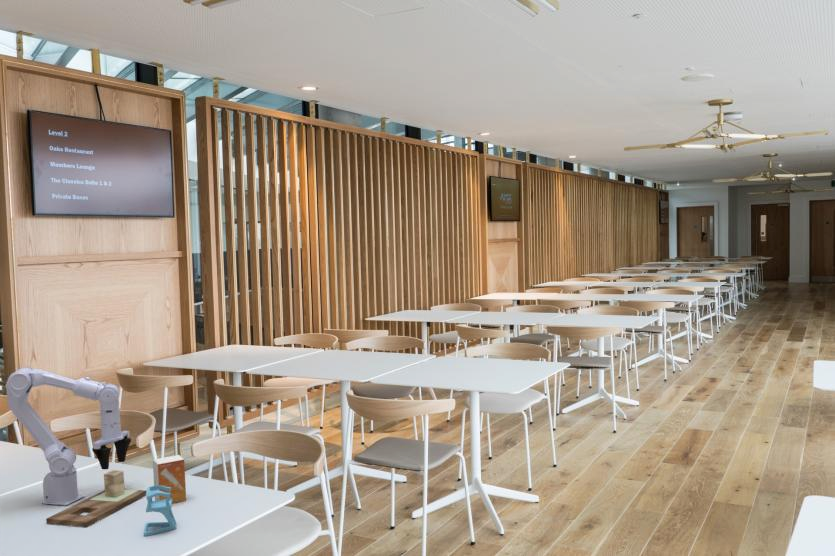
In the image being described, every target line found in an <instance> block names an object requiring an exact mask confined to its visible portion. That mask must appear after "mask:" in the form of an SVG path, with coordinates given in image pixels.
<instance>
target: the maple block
mask: <svg viewBox="0 0 835 556" xmlns="http://www.w3.org/2000/svg"><path fill="white" fill-rule="evenodd" d="M124 474H125V473H124V470H116V469H115V470H110V471H108V472H105V473H104V474H103V482H104V483H103V484H104V485H103V486H104V490H105V497H115V498H116V497H118V496H120V495H122V494H124V493H125V489H126V488H125V475H124Z"/></svg>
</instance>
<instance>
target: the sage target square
mask: <svg viewBox="0 0 835 556" xmlns="http://www.w3.org/2000/svg"><path fill="white" fill-rule="evenodd" d="M126 489H127V488H125V493H124V494H122V495H120V496H118V497H116V498H115V497H105V492H104V493H102V494H100V495H98V496H96V497H94V498H92V499H90V501H103V502H116V503H117V502H119V501H121V500H123V499H125V498H127V497H129V496H131V495H133V494H135V493H137V492H138V491H139V490H140V489H130V490H126Z"/></svg>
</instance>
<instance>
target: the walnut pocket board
mask: <svg viewBox="0 0 835 556" xmlns="http://www.w3.org/2000/svg"><path fill="white" fill-rule="evenodd" d="M125 489H126V490H131V489H129V488H125ZM138 490H139V491H138V492H137V493H135V494H133V495H131V496H129V497H127V498H125V499H123V500H121V501H119V502H117V503H116V502H103V501H90V499H92V498H94V497H96V496H98V495H100V494H102V493H104V492H105V489H104V490H102V491H100V492H99V493H96V494H94V495H92V496H89V497H88V498H86V499H84V500H81V501H80V502H77V503H76V504H73V505H72V506H69V507H68V508H65V509H63V510H61V511H59V512H57V513H55V514H53V515H51V516H48V517H47V518H46V519H45V520H46V521H45V522H46V525H47V524H48V525H55V524H56V525H58V526H66V525H70V527H78V526H83V527H82V528H89V527H90V526H92V525H94V524H96V523H98V522H100V521H102V520H103V519H105V518H107V517H109V516H111V515H113V514H114V513H116V512H118V511H120V510H122V509H124V508H125V507H127V506H130V505H131V504H133V503H135V502H137V501H138V500H141V499H142V498H144V497H146V490H143V489H138ZM140 498H141V499H140ZM83 513H87V514H83ZM99 520H100V521H99ZM97 521H98V522H97ZM95 522H96V523H95ZM56 525H55V526H56ZM71 525H72V526H71ZM89 525H90V526H89Z"/></svg>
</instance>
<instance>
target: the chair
mask: <svg viewBox="0 0 835 556" xmlns="http://www.w3.org/2000/svg"><path fill="white" fill-rule="evenodd" d="M157 489H164V490H166V491H168V492H167V493H165V492H163V491H159V490H157ZM170 490H171V487H165V486H162V485H155V486H154V485H151V486H149V487H147V488H146V490H145V491H146V496H145V497H146V501H147V503H146V507H145V512H146V513H152V512H154V513H161V514H162V515H163V516H164V517H165V519H166V521H158V522H157V521H156V522H154V521H151V522H145V524H144V530H143V537H148V536H152V535H155V534H160V533H163V532H167V531H171V530H175V529H177V521H176V519H175V516H174V513H173V511H172V505H173V503H172V499H170V494H171V493H170ZM155 496H165V497H167V498H166V499H165V500H158V501H155V500H153V498H155ZM149 527H160V528H155V529H152V530H148V528H149Z"/></svg>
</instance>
